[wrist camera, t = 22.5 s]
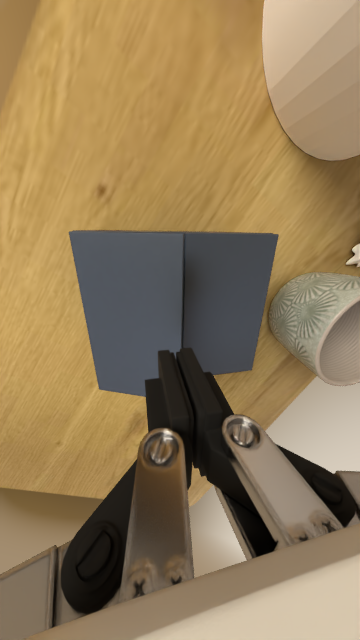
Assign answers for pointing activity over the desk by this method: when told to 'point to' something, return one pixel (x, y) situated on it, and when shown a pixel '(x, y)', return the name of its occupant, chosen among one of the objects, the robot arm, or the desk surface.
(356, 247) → the figurine
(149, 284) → the flap
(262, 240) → the carton
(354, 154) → the white rounded tall casing
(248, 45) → the desk surface
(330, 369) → the planter
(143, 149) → the desk surface
